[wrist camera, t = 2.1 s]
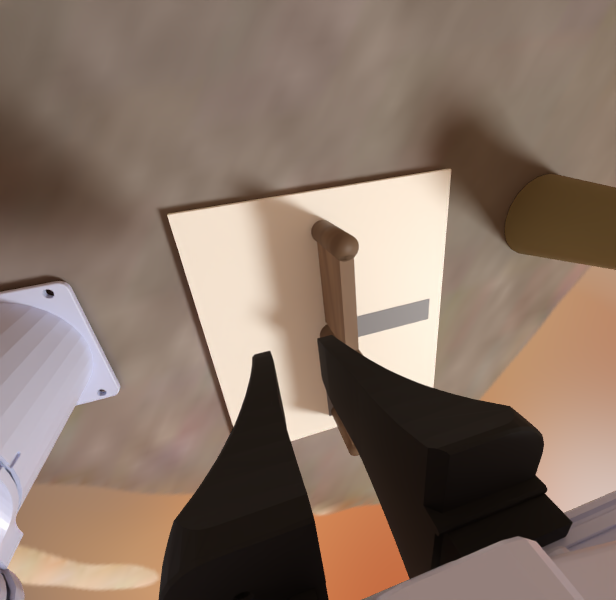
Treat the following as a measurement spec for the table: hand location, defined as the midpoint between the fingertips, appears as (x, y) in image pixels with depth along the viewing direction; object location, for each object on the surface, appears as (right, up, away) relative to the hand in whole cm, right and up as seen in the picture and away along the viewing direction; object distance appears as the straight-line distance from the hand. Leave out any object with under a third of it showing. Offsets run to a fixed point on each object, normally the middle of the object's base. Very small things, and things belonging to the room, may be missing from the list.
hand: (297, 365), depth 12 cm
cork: (+18, +9, +12) cm, 24 cm away
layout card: (+2, +1, +11) cm, 11 cm away
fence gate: (+2, +4, +9) cm, 10 cm away
